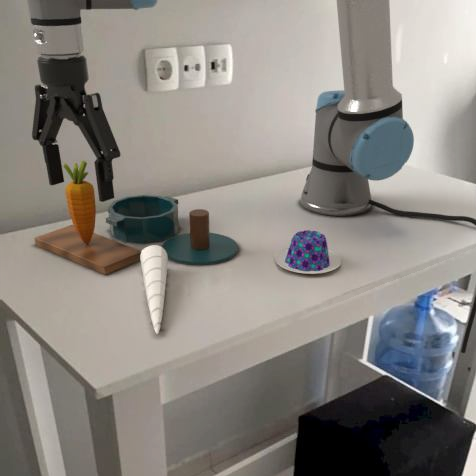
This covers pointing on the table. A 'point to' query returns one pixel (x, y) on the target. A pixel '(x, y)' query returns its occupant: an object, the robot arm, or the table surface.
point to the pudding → (308, 254)
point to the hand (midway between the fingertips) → (81, 191)
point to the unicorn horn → (155, 280)
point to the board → (89, 250)
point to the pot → (143, 218)
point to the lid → (200, 243)
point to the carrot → (81, 202)
